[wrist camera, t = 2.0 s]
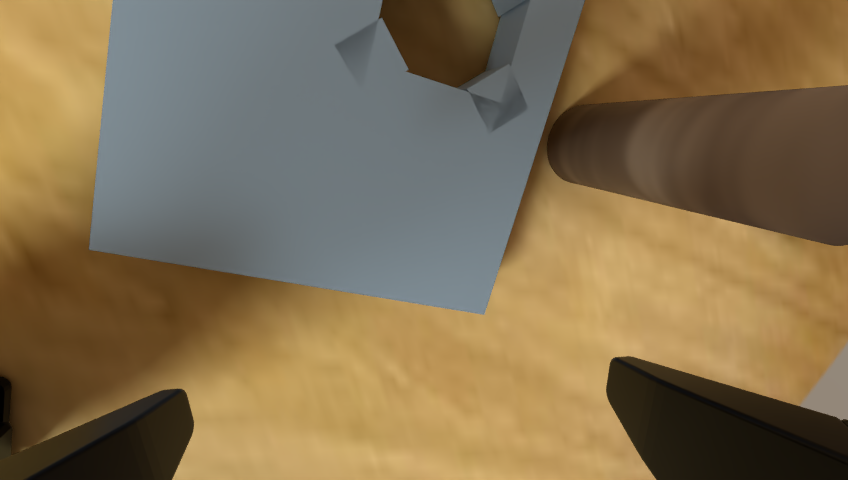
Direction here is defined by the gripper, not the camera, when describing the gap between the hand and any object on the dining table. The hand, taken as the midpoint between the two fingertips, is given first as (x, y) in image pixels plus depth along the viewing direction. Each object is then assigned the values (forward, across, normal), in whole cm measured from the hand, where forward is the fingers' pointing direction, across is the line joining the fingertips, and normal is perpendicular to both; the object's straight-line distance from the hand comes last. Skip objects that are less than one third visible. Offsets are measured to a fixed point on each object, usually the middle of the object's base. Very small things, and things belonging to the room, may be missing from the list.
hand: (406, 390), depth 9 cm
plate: (+12, -2, +6) cm, 14 cm away
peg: (+14, +10, +3) cm, 17 cm away
